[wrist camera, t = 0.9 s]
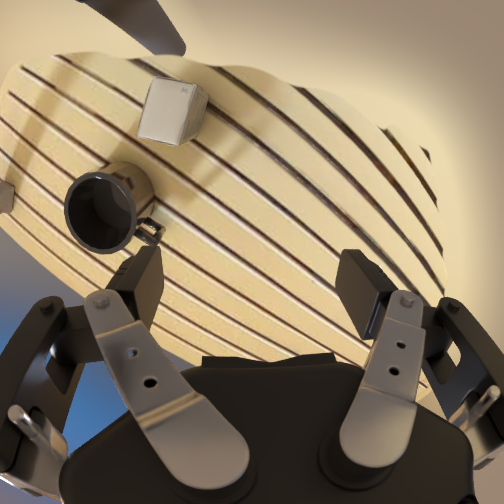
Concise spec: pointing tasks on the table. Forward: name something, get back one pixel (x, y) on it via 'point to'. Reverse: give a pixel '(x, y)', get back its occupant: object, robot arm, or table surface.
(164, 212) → the table surface
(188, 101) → the cosmetic box
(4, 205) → the vintage mobile phone
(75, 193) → the mug
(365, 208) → the table surface
